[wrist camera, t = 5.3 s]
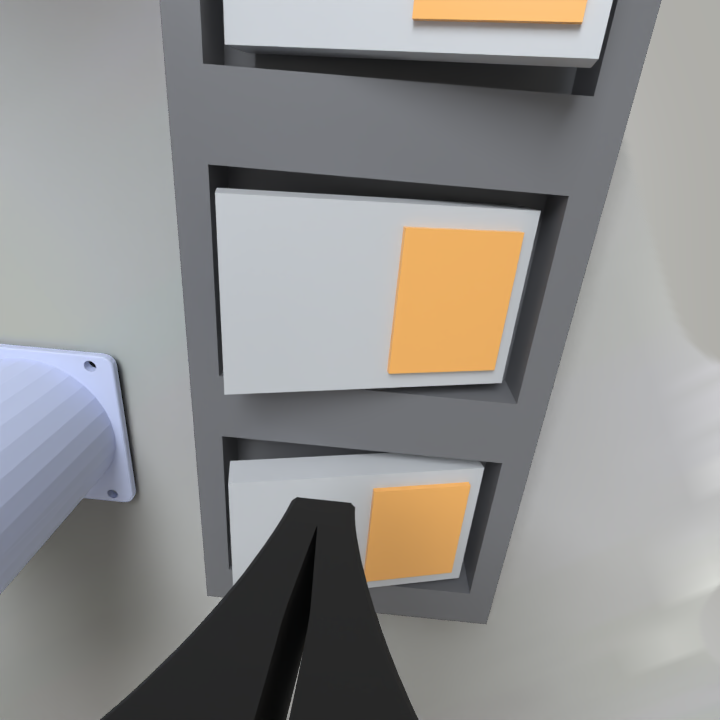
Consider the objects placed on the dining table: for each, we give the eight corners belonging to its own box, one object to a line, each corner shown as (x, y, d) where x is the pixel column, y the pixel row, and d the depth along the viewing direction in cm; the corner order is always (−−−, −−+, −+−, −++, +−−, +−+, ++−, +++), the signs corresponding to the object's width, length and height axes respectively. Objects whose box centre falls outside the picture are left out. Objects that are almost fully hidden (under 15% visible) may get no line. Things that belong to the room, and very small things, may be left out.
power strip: (237, 520, 24) (207, 595, 20) (206, -273, 13) (122, -467, 9) (469, 543, 24) (486, 624, 20) (653, -240, 13) (780, -423, 9)
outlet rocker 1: (225, 375, 15) (224, 397, 14) (216, 187, 13) (214, 193, 11) (485, 367, 17) (504, 385, 16) (519, 205, 15) (544, 212, 13)
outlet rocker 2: (235, 576, 19) (233, 607, 18) (230, 461, 16) (228, 487, 15) (448, 555, 21) (460, 581, 19) (471, 448, 18) (486, 471, 17)
